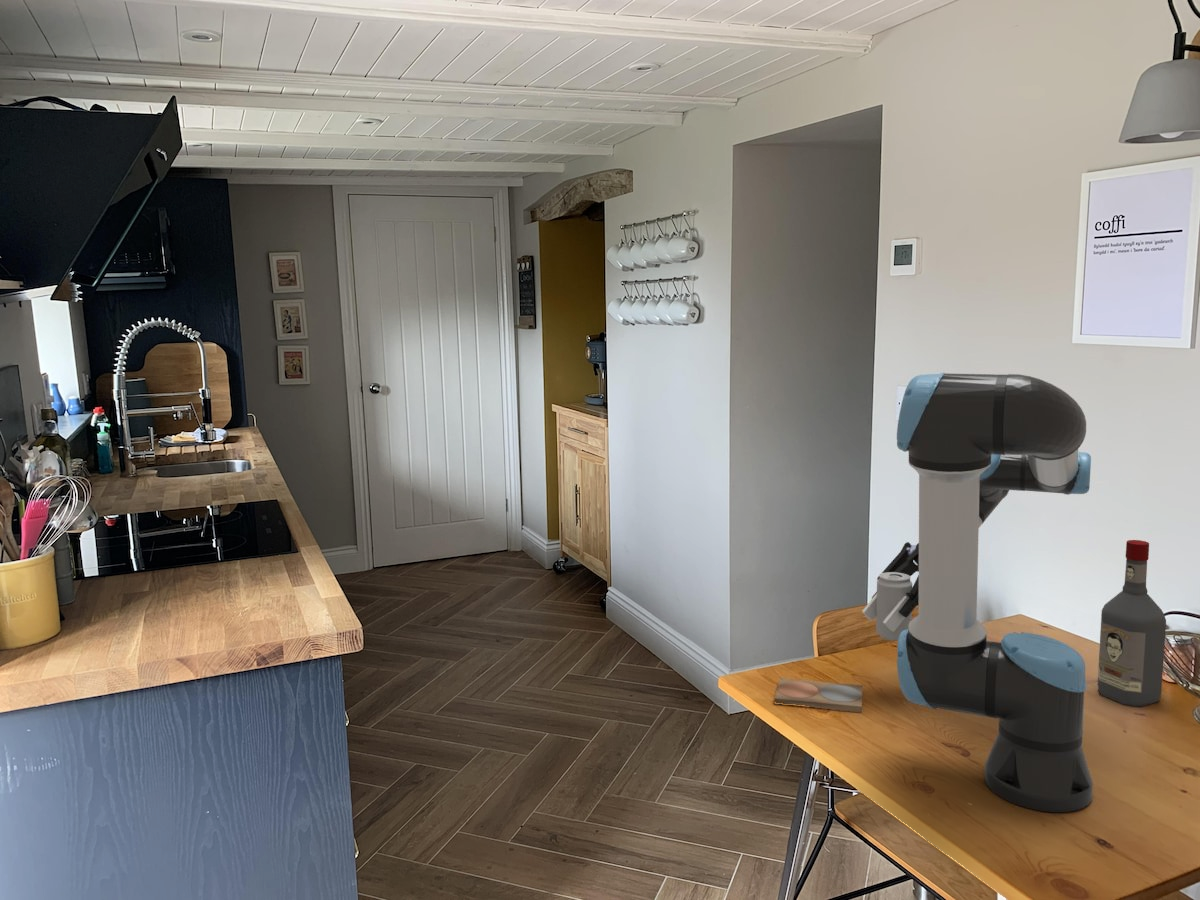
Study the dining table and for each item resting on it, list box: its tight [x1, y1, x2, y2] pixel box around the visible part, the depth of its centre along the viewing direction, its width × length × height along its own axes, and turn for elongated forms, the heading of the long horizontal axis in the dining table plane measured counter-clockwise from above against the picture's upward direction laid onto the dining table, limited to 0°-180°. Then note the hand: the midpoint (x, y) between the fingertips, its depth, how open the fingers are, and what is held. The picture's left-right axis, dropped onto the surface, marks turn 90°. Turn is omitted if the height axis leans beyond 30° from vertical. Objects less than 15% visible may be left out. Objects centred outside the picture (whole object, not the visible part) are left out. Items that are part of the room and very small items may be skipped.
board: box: [774, 677, 864, 714], centre depth 176 cm, size 10×16×1 cm, turn 73°
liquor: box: [1097, 539, 1167, 707], centre depth 171 cm, size 9×9×30 cm
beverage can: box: [875, 572, 913, 642], centre depth 173 cm, size 6×6×12 cm
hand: (877, 621), depth 173 cm, fingers closed on beverage can, 6 cm apart
